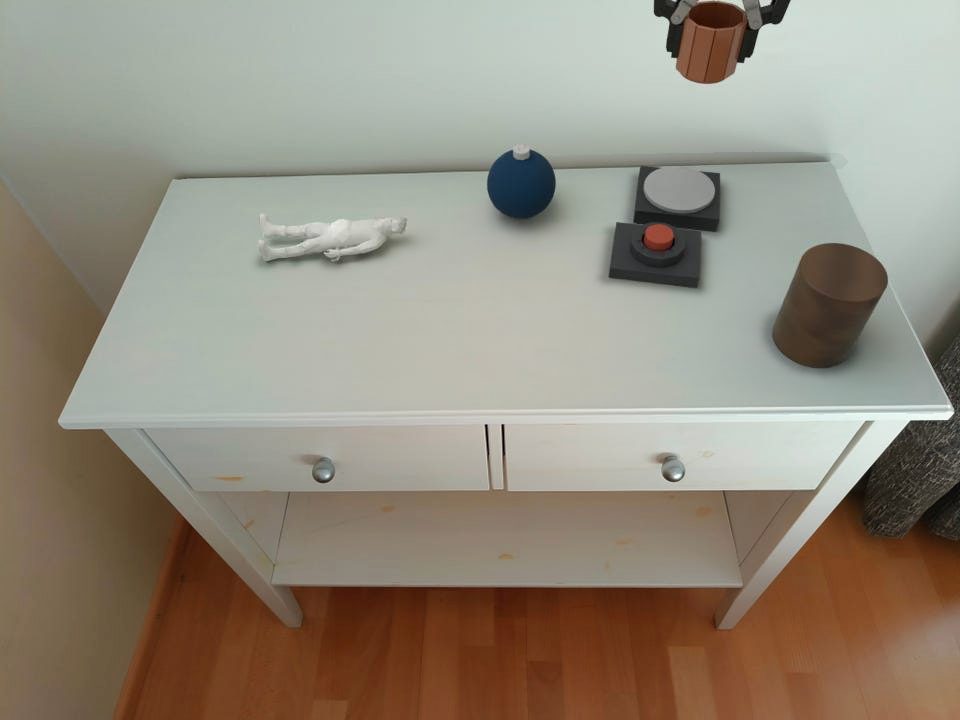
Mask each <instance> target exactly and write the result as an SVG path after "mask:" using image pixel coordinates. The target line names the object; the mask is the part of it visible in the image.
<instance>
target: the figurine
mask: <svg viewBox="0 0 960 720" xmlns="http://www.w3.org/2000/svg"><path fill="white" fill-rule="evenodd" d="M408 221H409V219H408V217H407V216H404V215H401V214H400V215H397V217H396V218H391V217H386V218H380V219H379V218H372V219H359V220H353V221H351V220H350V219H343V218H339V219H336V220H335V221H332V223H328V222H322V221H312V222H310V223H306V224H299V225H287V224H284V225H283V224H282V225H277V224H274V223H272V222H270V219H269V216H268V214H266V213H263V212H261V213H259V223H260V227H261V228H262V236H263V238H264V239H265V240H268V239H272V238H274V237H280V238H288V237H291V238H307V239H305V240H304V241H303V242H300V243H298V244H297V245H292V246H288V247H287V246H283V247H279V248H278V247H277V248H276V247H271V246H269V245H267V241H265V240H263V239H257V240H258V241H257V249H258V251H259V253H260V254H261V255H262V258H263V260H264V262H270V261H273V260H276V259H289V258H293V257H300V256H303V255H311V254H313V255H319V254H321V253H323V254H324V256H325V257H328V258H330V259H331V260H330V261H331V262H332V263H334V262H338V261H339V259H341V256H350V255H358V254H359V255H360V254H366V253H369V252H372V251H375V250H378V249H379V248H380V247H381V246H382V245H383V244H384V243H385V242H386V241H387V239H388V236H390V235H393V234H399V235H402V234H404V232H406V227H407V224H408V223H407V222H408Z"/></svg>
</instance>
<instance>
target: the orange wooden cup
mask: <svg viewBox="0 0 960 720" xmlns="http://www.w3.org/2000/svg"><path fill="white" fill-rule="evenodd" d="M747 19H748V18H747V15H746V11H745V9H744V8H742V7H740V6H739V5H738V4H735V3H731V2H726V1H722V0H704V1H698V2H697V4H696V5H695V6H694V7H692V8H691V10H690V11H689V13H688V14H687V15H686V17H685V18H684V23H683V25H684V26H683V32H682V37H681V43H680V48H679V54H678V58H675V70H676V71H677V72H678V73H679V74H680V75H681V76H682V77H683V78H684V79H686V80H688V81H690V82H693V83H696V84H700V85H701V84H702V85H714V84H718V83H721V82H723V81H726V79H728V78H730V77H731V76H733V75H735V73H736V69H737V65H738V63H737V60H738V56H739V52H740V48H741V44H742V40H743V36H744V32H745V29H746V25H747Z"/></svg>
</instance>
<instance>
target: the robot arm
mask: <svg viewBox="0 0 960 720" xmlns="http://www.w3.org/2000/svg"><path fill="white" fill-rule="evenodd" d="M791 1H792V0H771V1H770V3H769V4H767V5H764V6H763V5H762V6H761V3H760V0H741V2H742V5H743V10H744V11H746V15H747V25H746V29H745V32H744V36H743V40H742V44H741V48H740V52H739V56H738V60H737V64H744V63H745V61H746V59H750V58H751V57H752V56H753V54H754V52H755V48H756V43H757V40H758V37H759V32H760V30H761V28H762V27H763V26H766V25H769V24H771V25H774V26H777V25H780V24H781V23H782V21H783V20H784V18H785V15H786V13H787V10H788V8H789V6H790V3H791ZM698 2H700V0H653V15H654V16H655V17H656V18H665V19H666V20H667V21H668V29H667V35H666V42H665V49H666V52H667V53H671V54H670V58H671V59H676V58H678V54H679V48H680V43H681V37H682V32H683V26H684V25H683V23H684V18H685V17H686V15H687V14H688V13H689V11H690V10H691V8H692V7H694V6H695V5H696V4H697V3H698Z"/></svg>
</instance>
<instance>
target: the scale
mask: <svg viewBox="0 0 960 720" xmlns="http://www.w3.org/2000/svg"><path fill="white" fill-rule="evenodd" d="M638 172H639V173H638V179H637V186H636V187H637V188H636V194H635V204H634V210H633V219H632V224H640V225H643V224H647V223H651V222H658V223H667V224H669V225H671V226H673V227H675V228H677V229H687V230H696V231H706V232H707V231H708V232H717V229H718V226H719V222H720V215H721V213H720V212H721V211H720V210H721V207H720V206H721V173H720V172H714V171H713V172H712V171H703V170H697V169H695V168H693V167H687V166H681V165H669V166H664V167H660V166H659V167H658V166H650V165H649V166H647V165H640V167H639V171H638Z"/></svg>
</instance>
